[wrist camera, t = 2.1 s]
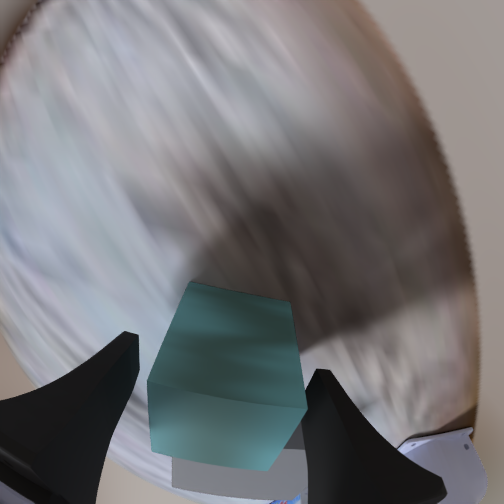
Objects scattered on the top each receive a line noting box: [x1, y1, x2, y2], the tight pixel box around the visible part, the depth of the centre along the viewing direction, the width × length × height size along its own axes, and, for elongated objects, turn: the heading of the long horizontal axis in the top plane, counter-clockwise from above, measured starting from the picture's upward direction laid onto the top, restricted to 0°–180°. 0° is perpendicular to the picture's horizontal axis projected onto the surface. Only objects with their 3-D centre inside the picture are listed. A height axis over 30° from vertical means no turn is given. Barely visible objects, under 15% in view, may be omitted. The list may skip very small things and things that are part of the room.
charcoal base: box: [172, 421, 308, 500], centre depth 16 cm, size 10×10×2 cm
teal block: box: [147, 282, 308, 471], centre depth 11 cm, size 4×4×6 cm
